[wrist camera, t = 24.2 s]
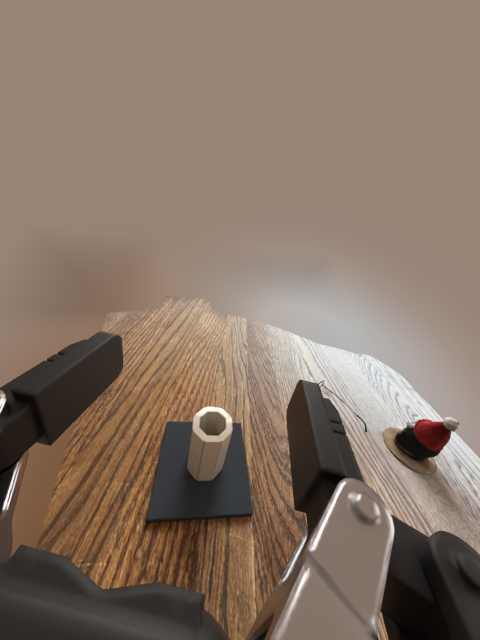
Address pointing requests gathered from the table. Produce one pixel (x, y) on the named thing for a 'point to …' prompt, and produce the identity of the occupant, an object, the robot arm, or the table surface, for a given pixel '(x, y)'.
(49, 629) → the robot arm
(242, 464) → the mat
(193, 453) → the cream octagonal tube
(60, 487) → the table surface
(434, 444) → the figurine
